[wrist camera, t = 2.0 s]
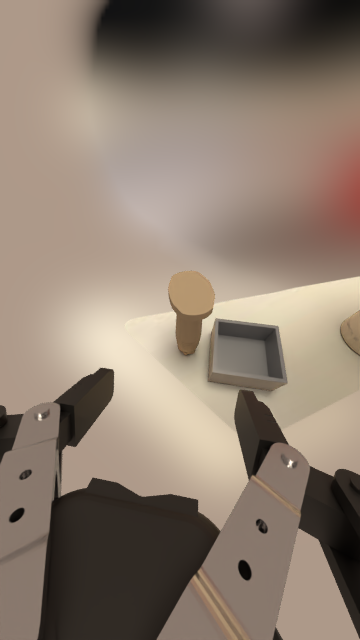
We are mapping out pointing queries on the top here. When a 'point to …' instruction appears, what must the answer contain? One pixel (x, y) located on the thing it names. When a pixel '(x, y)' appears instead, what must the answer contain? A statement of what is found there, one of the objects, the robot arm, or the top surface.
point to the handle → (190, 307)
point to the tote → (246, 355)
